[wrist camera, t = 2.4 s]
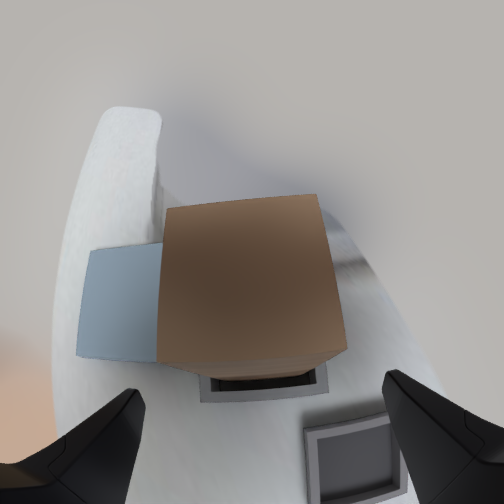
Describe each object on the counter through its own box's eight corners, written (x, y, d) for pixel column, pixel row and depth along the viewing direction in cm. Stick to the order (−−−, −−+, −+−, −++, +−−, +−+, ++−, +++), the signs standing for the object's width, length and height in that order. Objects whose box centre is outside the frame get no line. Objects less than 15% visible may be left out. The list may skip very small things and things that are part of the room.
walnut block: (299, 376, 18) (347, 348, 7) (229, 381, 19) (156, 361, 7) (292, 311, 21) (316, 193, 9) (226, 316, 21) (167, 208, 9)
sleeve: (320, 392, 18) (329, 392, 15) (210, 401, 18) (200, 402, 15) (308, 291, 21) (313, 275, 19) (207, 300, 22) (198, 286, 19)
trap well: (396, 486, 13) (407, 492, 11) (308, 507, 13) (311, 517, 11) (394, 409, 16) (405, 410, 15) (303, 428, 17) (306, 432, 15)
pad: (176, 362, 19) (171, 361, 19) (82, 357, 20) (76, 355, 19) (179, 246, 24) (176, 241, 23) (95, 255, 24) (90, 250, 24)
